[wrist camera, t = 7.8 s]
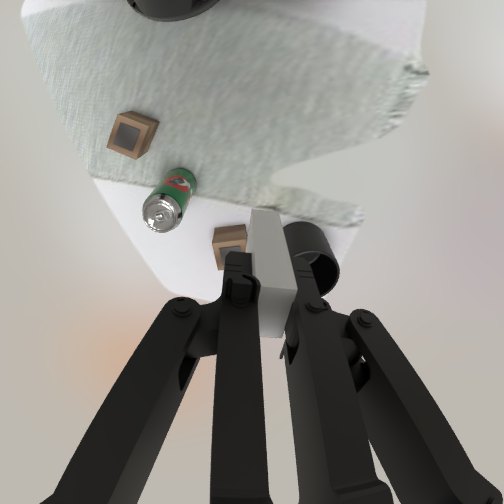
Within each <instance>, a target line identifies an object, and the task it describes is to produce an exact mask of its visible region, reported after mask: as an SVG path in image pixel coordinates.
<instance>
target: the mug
mask: <svg viewBox="0 0 504 504" xmlns="http://www.w3.org/2000/svg"><path fill="white" fill-rule="evenodd" d="M283 231H284V235H285V239H286V243H287V247H288V251H289V255H290V256H292V257H302V258H305V259H306V261H307V262H308V263H309V264H310V266H311V269H312V273H313V275H314V278H315V281H316V284H317V287H318V291H319V294H320V297H323V296H325V295H326V294H327V293H329V292H330V291H331V290H332V289H333V288H334V286H335V285H336V283H337V281H338V279H339V274H340V269H339V265H338V262H337V260H336V258H335V256H334V254H333V252H332V250H331V248H330V246H329V244H328V241H327V239H326V237H325V235H324V233H323V232H322V231H321V230H320V229H319V228H318V227H317V226H315V225H313V224H310V223H306V222H297V223H293V224H290V225H288V226H286V227H284V228H283Z"/></svg>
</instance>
